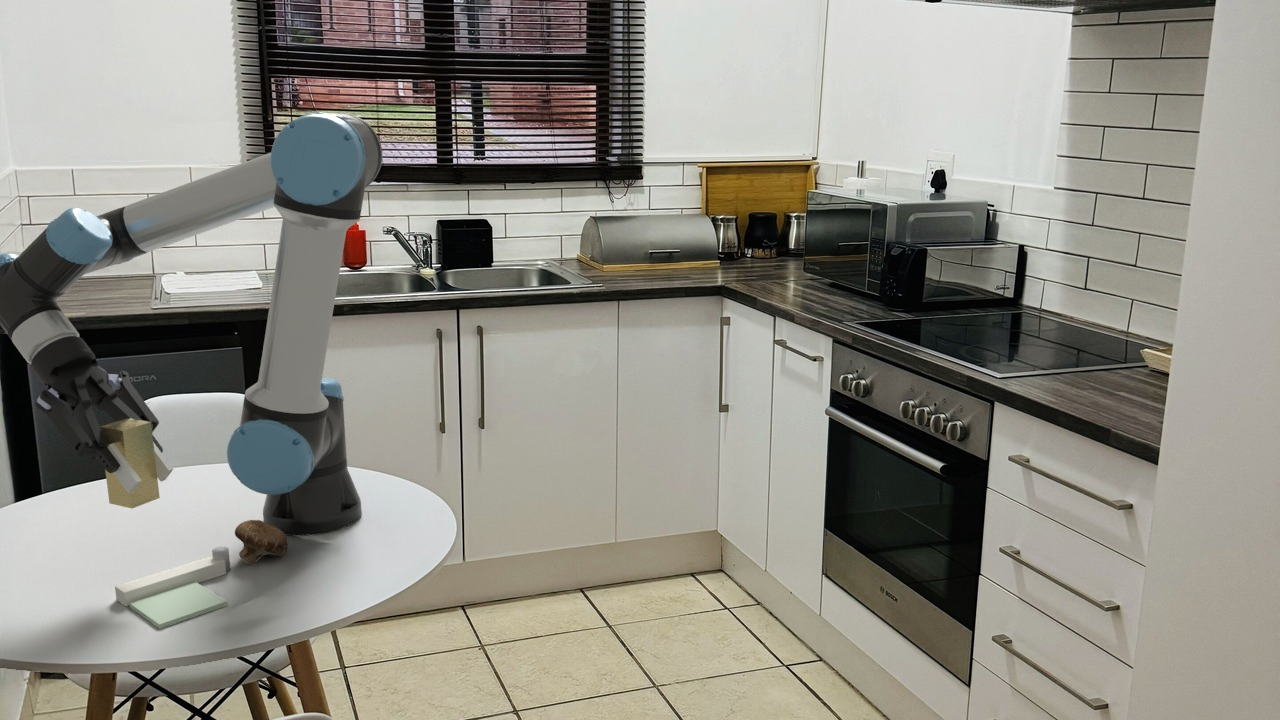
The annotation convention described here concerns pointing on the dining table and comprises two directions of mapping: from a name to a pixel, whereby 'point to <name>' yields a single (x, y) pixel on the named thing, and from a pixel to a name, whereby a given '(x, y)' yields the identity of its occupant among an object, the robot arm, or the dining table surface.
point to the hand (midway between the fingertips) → (151, 480)
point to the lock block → (133, 461)
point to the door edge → (175, 577)
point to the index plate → (177, 604)
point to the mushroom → (260, 540)
